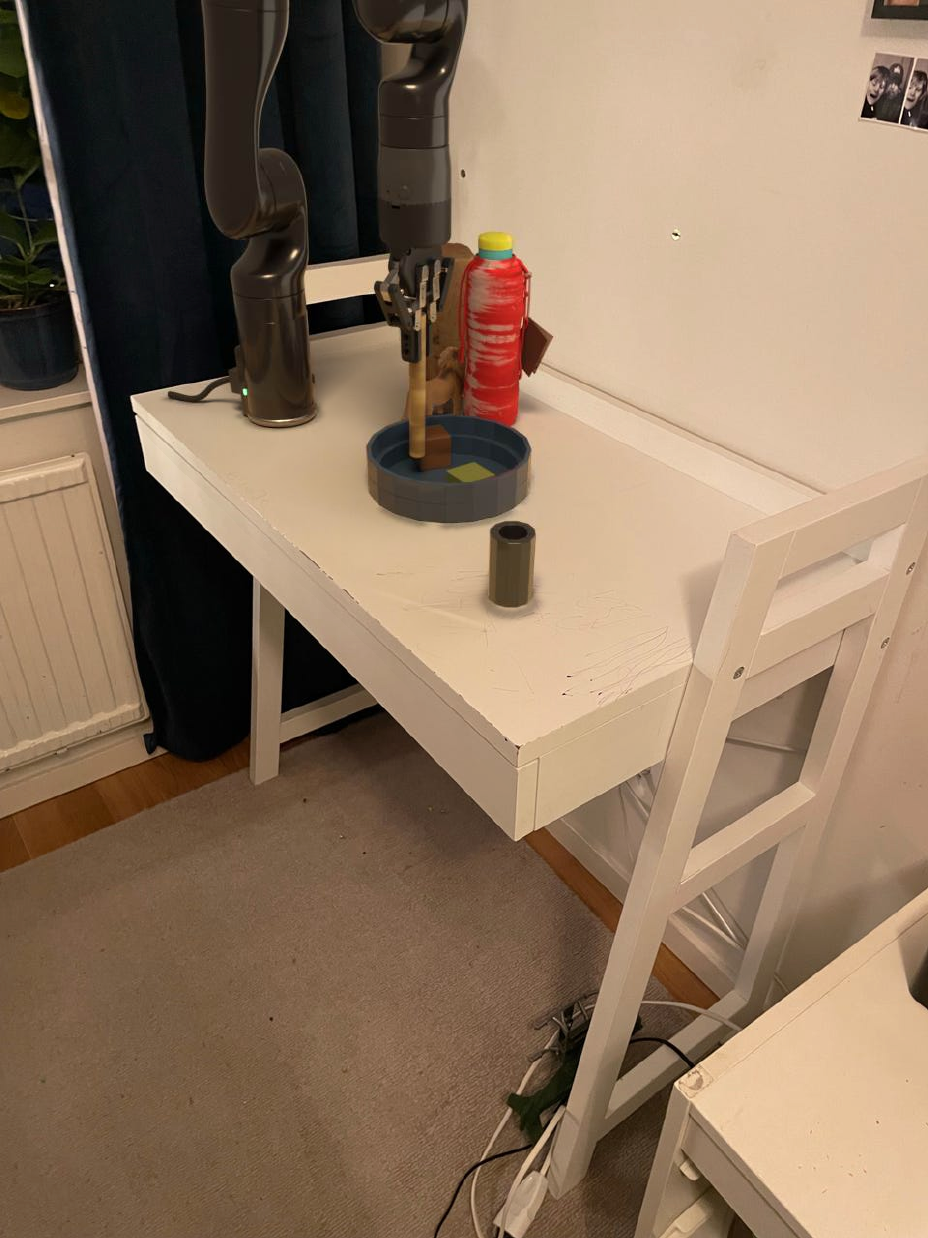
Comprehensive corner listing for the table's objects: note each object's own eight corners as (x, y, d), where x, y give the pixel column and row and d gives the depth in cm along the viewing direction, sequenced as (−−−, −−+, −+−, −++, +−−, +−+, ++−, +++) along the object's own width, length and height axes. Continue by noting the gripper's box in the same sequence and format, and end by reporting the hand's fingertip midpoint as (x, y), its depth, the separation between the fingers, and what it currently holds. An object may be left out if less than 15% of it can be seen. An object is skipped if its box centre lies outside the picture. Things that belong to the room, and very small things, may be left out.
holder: (480, 606, 93) (482, 536, 88) (500, 585, 96) (502, 516, 91) (519, 618, 91) (523, 547, 86) (538, 596, 94) (542, 527, 89)
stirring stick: (406, 455, 112) (405, 313, 102) (414, 449, 113) (414, 309, 103) (419, 459, 111) (420, 317, 101) (427, 453, 113) (429, 312, 103)
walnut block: (410, 457, 118) (409, 428, 115) (440, 453, 119) (440, 423, 117) (420, 471, 115) (420, 441, 112) (451, 466, 116) (451, 436, 114)
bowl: (337, 503, 109) (334, 460, 106) (420, 442, 123) (419, 403, 120) (482, 544, 102) (483, 500, 99) (553, 475, 116) (556, 434, 113)
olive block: (445, 501, 108) (445, 470, 106) (473, 492, 110) (474, 461, 108) (466, 515, 106) (466, 483, 103) (494, 505, 108) (495, 474, 105)
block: (479, 399, 135) (482, 256, 124) (428, 403, 134) (426, 258, 122) (463, 372, 144) (464, 236, 132) (415, 376, 143) (412, 238, 131)
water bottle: (535, 410, 132) (546, 223, 118) (550, 433, 126) (564, 238, 112) (452, 416, 130) (452, 226, 116) (463, 440, 124) (465, 242, 110)
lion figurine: (442, 401, 134) (442, 339, 129) (476, 408, 132) (477, 346, 127) (390, 440, 123) (388, 374, 118) (426, 448, 121) (425, 381, 116)
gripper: (417, 176, 102) (419, 334, 112) (345, 200, 92) (355, 371, 102) (478, 184, 99) (475, 345, 109) (411, 209, 89) (414, 384, 99)
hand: (417, 357), depth 105 cm, fingers closed on stirring stick, 2 cm apart
